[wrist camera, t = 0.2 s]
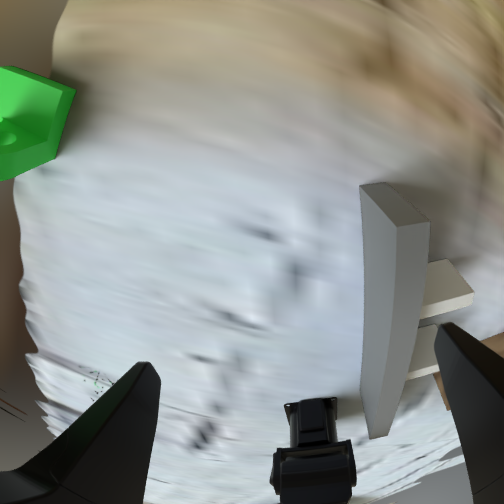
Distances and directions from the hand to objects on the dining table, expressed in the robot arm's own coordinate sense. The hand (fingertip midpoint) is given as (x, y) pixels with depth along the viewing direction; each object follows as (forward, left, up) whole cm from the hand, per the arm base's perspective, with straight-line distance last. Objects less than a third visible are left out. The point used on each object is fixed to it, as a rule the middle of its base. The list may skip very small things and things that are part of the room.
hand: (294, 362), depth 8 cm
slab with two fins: (-12, -10, -14) cm, 21 cm away
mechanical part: (+14, +19, -14) cm, 28 cm away
